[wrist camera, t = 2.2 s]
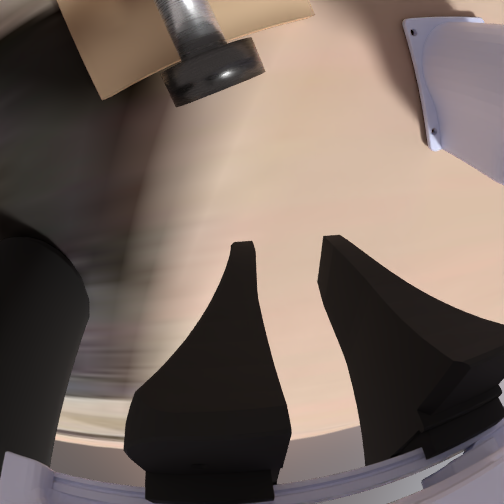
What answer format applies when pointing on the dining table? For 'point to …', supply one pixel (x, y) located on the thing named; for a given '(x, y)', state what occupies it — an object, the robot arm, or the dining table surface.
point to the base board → (155, 34)
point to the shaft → (203, 52)
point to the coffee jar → (36, 343)
